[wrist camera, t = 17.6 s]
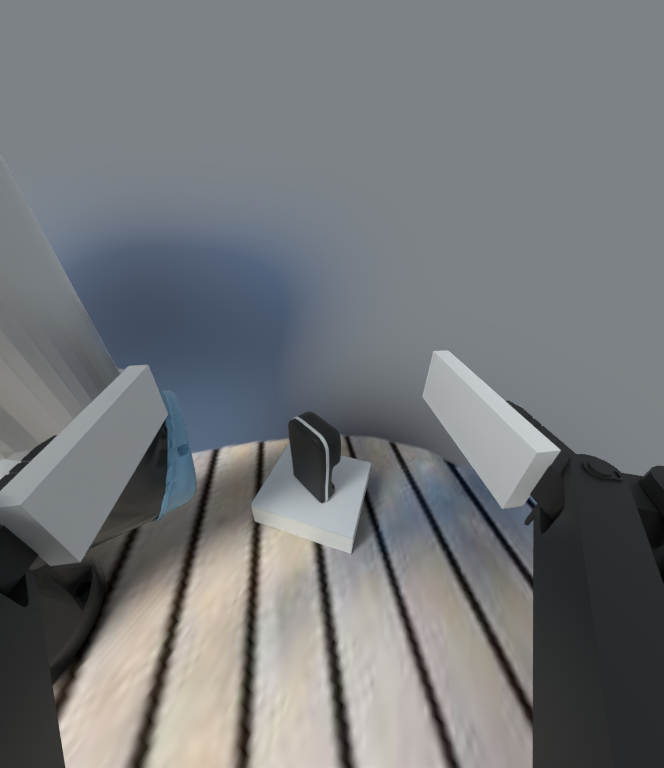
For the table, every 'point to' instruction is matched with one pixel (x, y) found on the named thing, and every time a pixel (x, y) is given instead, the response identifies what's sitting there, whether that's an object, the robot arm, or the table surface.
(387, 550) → the table surface
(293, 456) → the battery charger
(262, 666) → the table surface
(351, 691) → the table surface
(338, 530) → the stand
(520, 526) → the table surface
